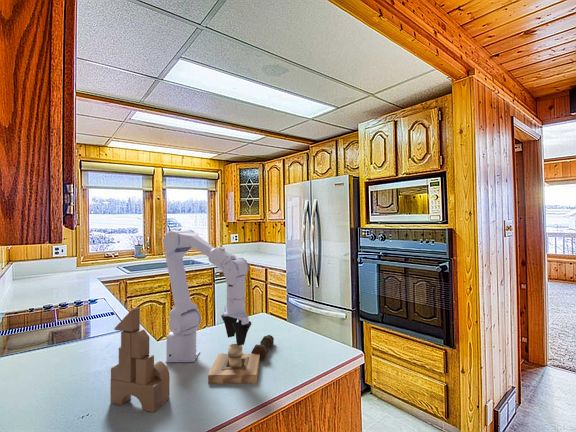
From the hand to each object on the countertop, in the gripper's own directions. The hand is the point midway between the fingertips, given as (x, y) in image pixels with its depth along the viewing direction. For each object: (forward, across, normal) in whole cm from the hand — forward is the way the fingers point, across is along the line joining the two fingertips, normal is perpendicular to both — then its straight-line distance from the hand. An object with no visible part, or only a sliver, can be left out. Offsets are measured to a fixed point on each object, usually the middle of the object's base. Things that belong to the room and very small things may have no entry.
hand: (235, 340), depth 98 cm
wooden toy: (+10, 0, -28) cm, 30 cm away
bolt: (+10, -8, +15) cm, 20 cm away
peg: (+10, 0, 0) cm, 10 cm away
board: (+10, 0, 0) cm, 10 cm away
